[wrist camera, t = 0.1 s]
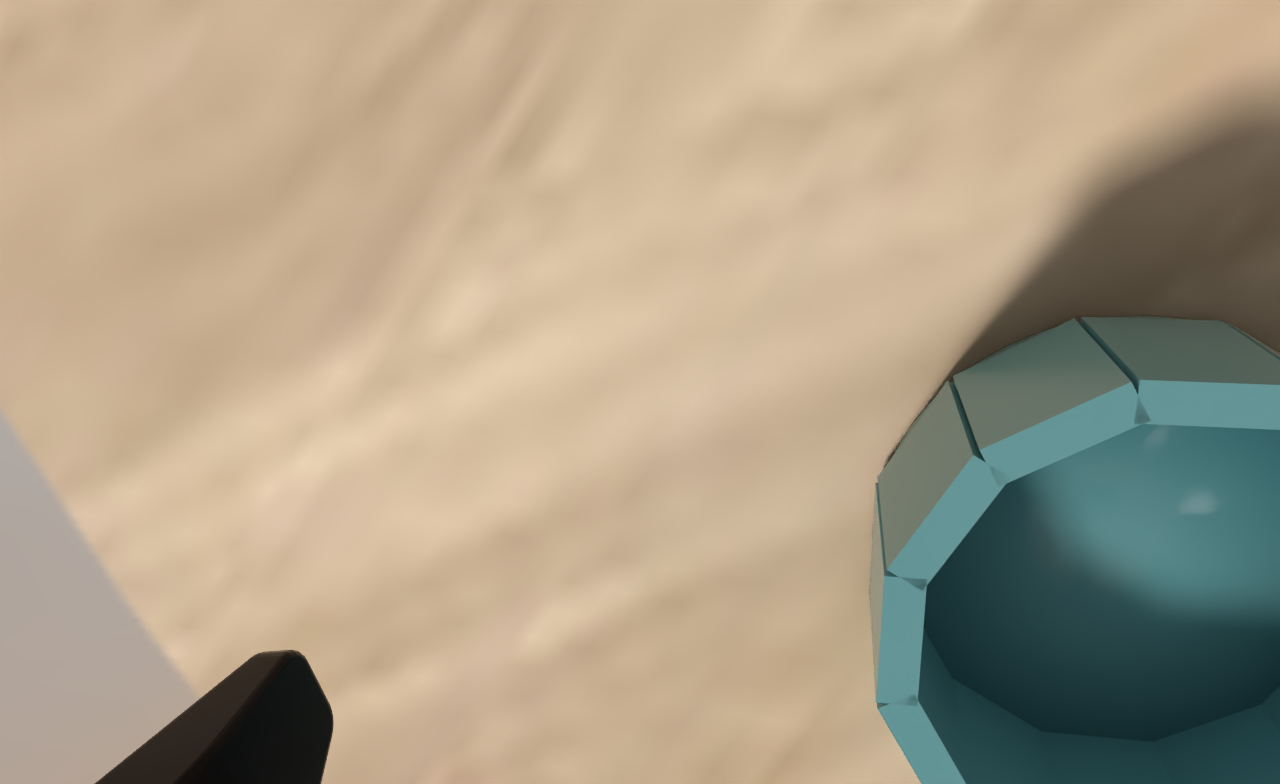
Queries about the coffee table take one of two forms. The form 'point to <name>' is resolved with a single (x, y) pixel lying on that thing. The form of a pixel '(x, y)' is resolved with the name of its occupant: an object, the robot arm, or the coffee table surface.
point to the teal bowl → (1087, 562)
